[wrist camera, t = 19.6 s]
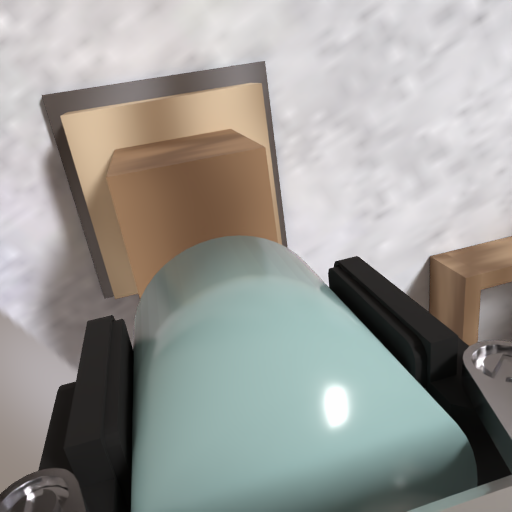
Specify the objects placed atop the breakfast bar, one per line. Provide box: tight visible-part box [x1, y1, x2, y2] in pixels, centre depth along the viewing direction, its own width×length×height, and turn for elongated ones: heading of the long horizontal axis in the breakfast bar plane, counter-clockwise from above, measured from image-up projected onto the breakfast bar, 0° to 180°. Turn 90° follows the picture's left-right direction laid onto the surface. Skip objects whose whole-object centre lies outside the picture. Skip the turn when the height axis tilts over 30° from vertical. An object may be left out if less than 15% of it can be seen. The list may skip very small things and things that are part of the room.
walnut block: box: [106, 129, 278, 298], centre depth 21 cm, size 6×6×7 cm
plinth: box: [42, 61, 287, 299], centre depth 26 cm, size 12×12×3 cm
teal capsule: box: [131, 235, 478, 512], centre depth 9 cm, size 5×5×6 cm
